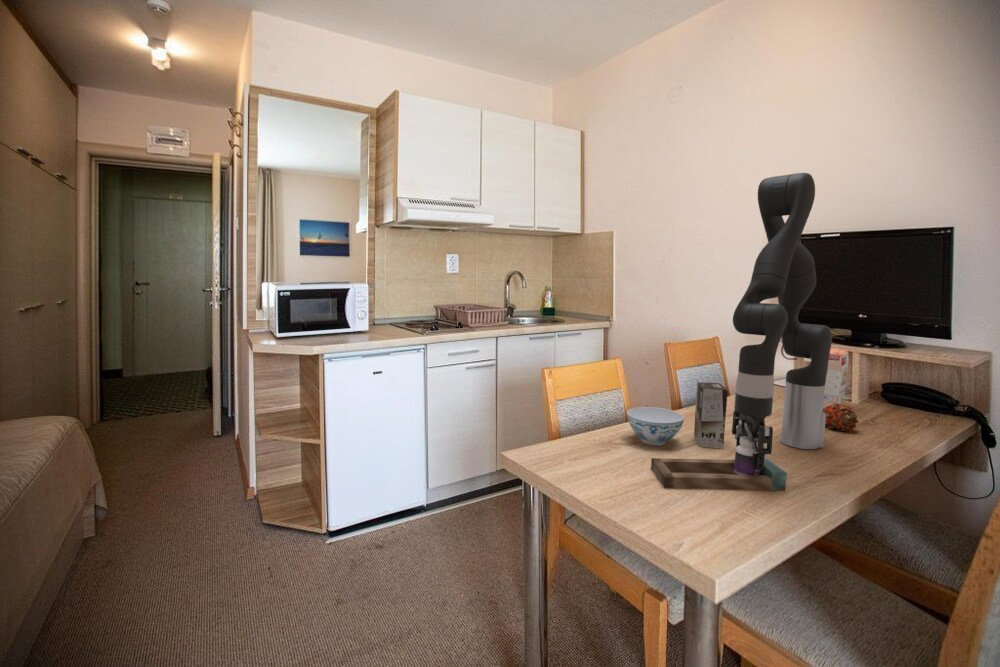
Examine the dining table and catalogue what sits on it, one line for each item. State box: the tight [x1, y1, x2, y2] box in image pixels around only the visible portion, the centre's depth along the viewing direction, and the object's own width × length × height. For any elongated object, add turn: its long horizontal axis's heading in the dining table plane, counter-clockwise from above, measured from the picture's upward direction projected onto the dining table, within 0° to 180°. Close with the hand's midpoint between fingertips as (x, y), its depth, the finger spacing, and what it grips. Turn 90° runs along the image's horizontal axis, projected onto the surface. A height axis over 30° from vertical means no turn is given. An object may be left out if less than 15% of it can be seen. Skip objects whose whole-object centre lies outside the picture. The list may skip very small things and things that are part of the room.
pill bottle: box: [733, 436, 761, 475], centre depth 114 cm, size 5×5×10 cm
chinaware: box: [626, 406, 685, 446], centre depth 140 cm, size 15×15×8 cm
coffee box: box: [693, 381, 729, 449], centre depth 139 cm, size 9×6×16 cm
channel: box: [650, 456, 788, 491], centre depth 115 cm, size 26×11×4 cm, turn 89°
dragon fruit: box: [823, 403, 860, 432], centre depth 153 cm, size 8×8×12 cm
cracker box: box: [823, 347, 850, 408], centre depth 172 cm, size 14×6×21 cm, turn 138°
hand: (748, 462), depth 115 cm, fingers open, 8 cm apart
